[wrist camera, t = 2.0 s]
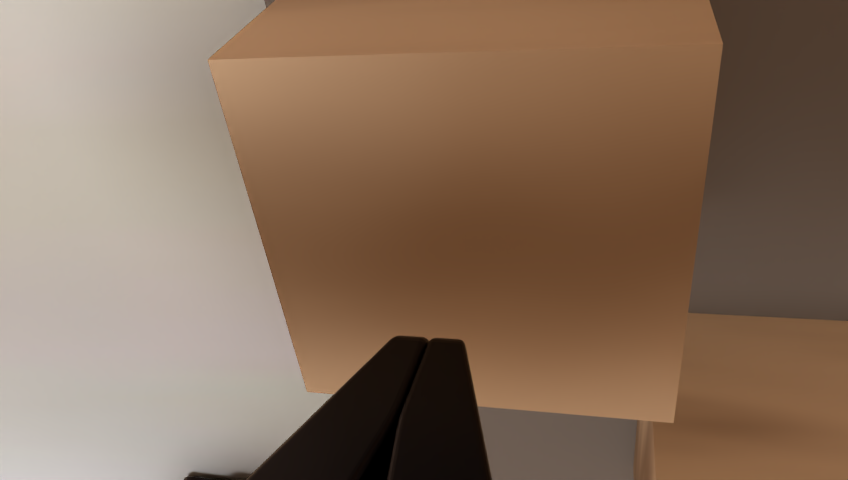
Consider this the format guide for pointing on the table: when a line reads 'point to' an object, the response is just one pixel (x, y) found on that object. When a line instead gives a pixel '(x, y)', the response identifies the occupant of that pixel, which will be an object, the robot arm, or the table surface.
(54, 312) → the table surface
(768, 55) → the mat
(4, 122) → the table surface
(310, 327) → the plain block
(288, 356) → the table surface
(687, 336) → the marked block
